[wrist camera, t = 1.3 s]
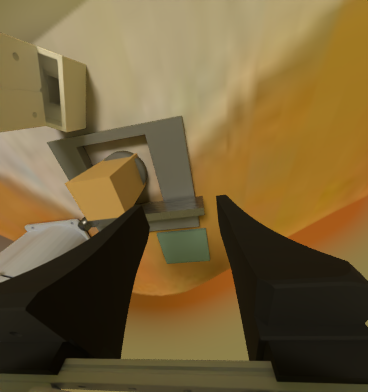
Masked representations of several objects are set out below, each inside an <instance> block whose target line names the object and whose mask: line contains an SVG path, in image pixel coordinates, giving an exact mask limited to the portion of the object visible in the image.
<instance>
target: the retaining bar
mask: <svg viewBox="0 0 368 392" xmlns="http://www.w3.org/2000/svg"><path fill="white" fill-rule="evenodd" d="M138 205H142V207H143V210H144V212H145V215H146V218H147V221H153V220H162V219H172V218H181V217H190V216H199V215H205V214H204V204H203V196H199V197H191V198H183V199H175V200H167V201H159V202H151V203H143V204H135V205H134V206H138ZM116 219H117V218H110V219H101V220H93V221H87V219H86V218H85V217H84V218H83V219H82V220H81V221H80V222H79V223H78V228H79V229H81V230H83V231H88V230H89V229H90V228H91V227H98V226H107V225H109V224H111V223H112V222H113V221H114V220H116Z"/></svg>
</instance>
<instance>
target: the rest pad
mask: <svg viewBox="0 0 368 392" xmlns="http://www.w3.org/2000/svg"><path fill="white" fill-rule="evenodd" d="M157 237H158V240H159V242H160V245H161V248H162V251H163V254H164V257H165V260H166V262H167V264H170V263H185V262H199V261H210V256H209V249H208V241H207V234H206V228H201V229H191V230H181V231H170V232H160V233H157Z"/></svg>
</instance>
